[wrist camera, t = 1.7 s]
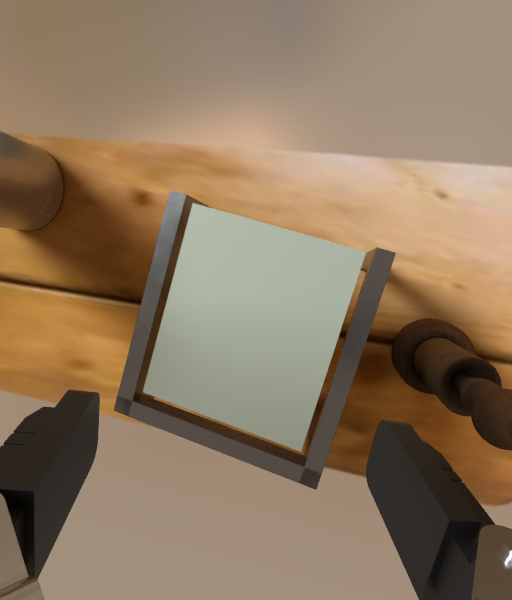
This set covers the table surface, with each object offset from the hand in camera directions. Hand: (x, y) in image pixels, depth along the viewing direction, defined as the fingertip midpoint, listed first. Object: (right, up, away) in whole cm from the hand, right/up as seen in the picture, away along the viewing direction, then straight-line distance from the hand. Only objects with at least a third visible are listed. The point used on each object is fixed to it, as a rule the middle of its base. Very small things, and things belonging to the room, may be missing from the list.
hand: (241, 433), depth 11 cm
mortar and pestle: (+17, -1, +25) cm, 30 cm away
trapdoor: (0, +2, +16) cm, 17 cm away
